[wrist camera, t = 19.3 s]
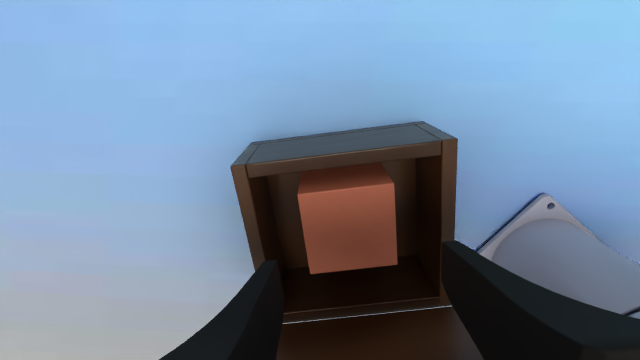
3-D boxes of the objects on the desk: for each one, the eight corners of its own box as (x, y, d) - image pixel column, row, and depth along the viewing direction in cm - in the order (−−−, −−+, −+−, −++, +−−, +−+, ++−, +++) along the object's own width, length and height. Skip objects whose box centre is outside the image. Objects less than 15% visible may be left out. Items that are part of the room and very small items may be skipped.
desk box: (250, 142, 20) (229, 166, 15) (423, 121, 20) (458, 138, 15) (277, 272, 24) (267, 325, 19) (423, 256, 24) (452, 305, 19)
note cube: (301, 165, 20) (296, 194, 16) (376, 156, 20) (394, 182, 15) (311, 230, 22) (309, 274, 17) (380, 222, 22) (398, 265, 17)
